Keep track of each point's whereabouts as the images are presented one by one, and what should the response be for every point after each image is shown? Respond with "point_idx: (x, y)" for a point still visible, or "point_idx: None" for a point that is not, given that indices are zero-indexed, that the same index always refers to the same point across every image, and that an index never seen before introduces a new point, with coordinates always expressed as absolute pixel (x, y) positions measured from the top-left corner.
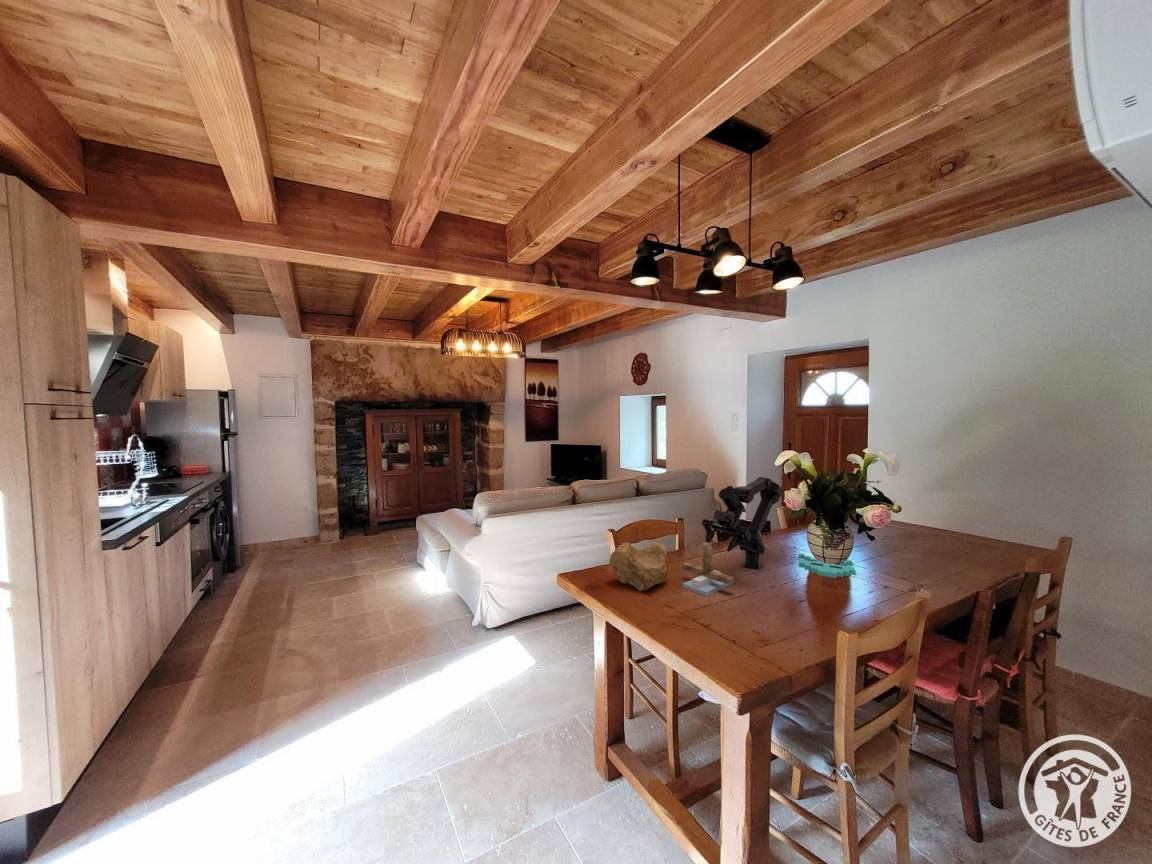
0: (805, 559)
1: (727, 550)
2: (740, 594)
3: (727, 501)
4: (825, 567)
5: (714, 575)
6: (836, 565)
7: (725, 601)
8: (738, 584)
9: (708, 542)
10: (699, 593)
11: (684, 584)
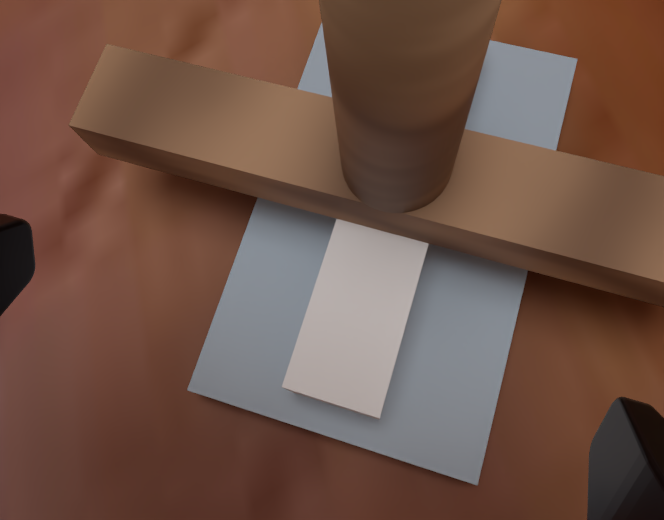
0: None
1: (22, 223)
2: (90, 219)
3: None
4: None
5: (284, 92)
6: None
7: (180, 31)
8: (131, 448)
9: (608, 514)
10: None
11: (555, 56)
